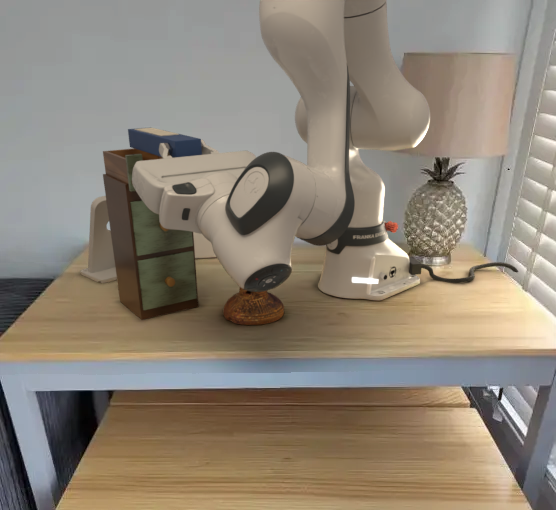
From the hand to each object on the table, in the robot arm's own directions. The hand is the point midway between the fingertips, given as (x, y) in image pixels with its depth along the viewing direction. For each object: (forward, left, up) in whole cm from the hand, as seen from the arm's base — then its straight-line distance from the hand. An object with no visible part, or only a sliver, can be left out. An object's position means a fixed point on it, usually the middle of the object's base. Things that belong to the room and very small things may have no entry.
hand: (180, 145), depth 96 cm
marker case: (0, -7, -2) cm, 7 cm away
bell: (-13, -1, -32) cm, 35 cm away
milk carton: (-23, -41, -32) cm, 57 cm away
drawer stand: (0, -15, -32) cm, 35 cm away
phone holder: (-2, -41, -32) cm, 52 cm away
